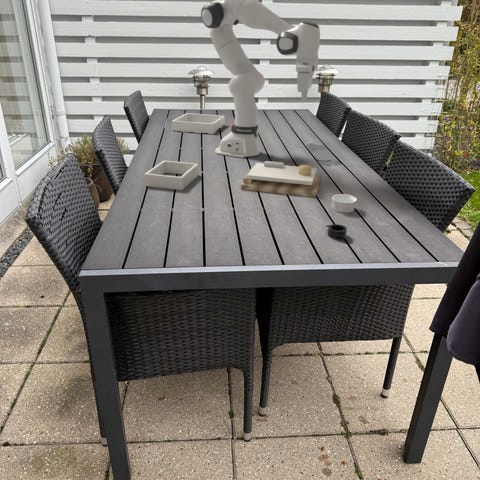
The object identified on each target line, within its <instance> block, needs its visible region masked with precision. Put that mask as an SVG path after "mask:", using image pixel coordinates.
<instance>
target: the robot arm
mask: <svg viewBox="0 0 480 480" xmlns="http://www.w3.org/2000/svg"><path fill="white" fill-rule="evenodd" d="M200 18H201V21H202V24H203V25H204V26H205V27H206V28H208V29H209V35H210V38H211V42H212V45H213V47H214V49H215V50H216V53H217V54H218V56H219V58H220V60H221V62H222V65H223V66H224V67H225V69H226V70H228V71H229V72H230V73H231V74H232V75H233V77H232V78H231V79H230V80H229V83H228V89H229V92H230V93H231V95H232V98H233V104H234V111H235V112H234V115H235V116H234V123H232V124H231V126H230V132H229V133H227V134H226V135H225V136H223V138H221V140H220V142H219V146H218V147H216V148H215V151H214V153H215V154H216V155H221V156H227V155H228V157H235V158H246V157H254V156H258V155H259V154H260V149H259V140H258V136H259V124H258V123H259V122H258V119H259V118H258V117H259V110H258V109H259V108H258V106H257V103H256V99H255V95H256V94H258V93H259V92H260V91H261V90H262V89H263V88H264V86H265V80H266V79H265V77H264V75H263V74H262V72H260V71H259V70H258V69H257V68H256V67H255V65H254V64H253V63H252V61H251V60H250V59H249V58H248V56H247V55H246V53H245V51H244V49H243V48H242V46H241V43H240V42H239V40H238V38H237V36H236V34H235V33H234V32H235V31H234V30H233V26H237V25H238V24H239V23H241V24H243V25H244V26H245V27H248V28H250V29H256V30H265V31H270V32H273V33H275V34H276V35H277V37H276V43H275V44H276V49H277V51H278V53H280V54H281V55H282V56H287V57H288V56H289V57H290V56H296V60H295V61H296V63H295V72H296V73H297V75H296V76H297V81H296V82H297V83H296V84H297V92H299V93H301V101H302V102H306V101H307V99H308V92H309V90H310V88H311V87H312V86H313V76H314V75H315V72H317V71H318V66H319V49H320V43H321V30H320V26H319V25H318V24H317V23H315V22H312V21H301V22H300V23H299V24H298V25H296V26H294V25H293V24H292V23H289V22H288V21H287V20H285V19H284V18H283V17H280V16H279V15H277V14H276V13H274V12H273V11H272V10H271V9H270V8H268V7H267V6H266V5H264V4H263V3H262V2H260V1H259V0H212V1H209V2H207V3H206V4H205V5H204V6H202V8H201V10H200Z"/></svg>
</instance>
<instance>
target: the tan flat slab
mask: <svg viewBox="0 0 480 480" xmlns="http://www.w3.org/2000/svg"><path fill="white" fill-rule="evenodd" d="M254 166H255V165H253V166H252V167H251V168H250V170H249V171H248V172H247V173H246V174H245V176H244V177H243V181H242V182H241V184H240V190H245V191H253V192H264V193H272V194H280V193H281V194H282V195H290V194H292V195H291V196H299V195H300V196H301V197H308V196H310V197H311V198H316V197H317V194H318V191H319V188H320V185H319V184H321V181H322V175H321V174H320V175H319V174H316V175H315V178H314V181H313V184H312V185H305V184H295V183H285V182H275V181H265V180H255V179H247V175H248V173H249V172H250V171H251V170H252V168H253V167H254ZM281 194H280V195H281Z"/></svg>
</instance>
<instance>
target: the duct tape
mask: <svg viewBox="0 0 480 480" xmlns="http://www.w3.org/2000/svg"><path fill="white" fill-rule="evenodd" d="M324 228H325V229H327V236H328V238H330V239H332V240H344V239H345V240H351V238H350V237H348V236H347V231H348V228H347V226H344V225H342V224H340V223H339V224H337V223H335V224H334V223H333V224H327V225H325V226H324Z"/></svg>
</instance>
